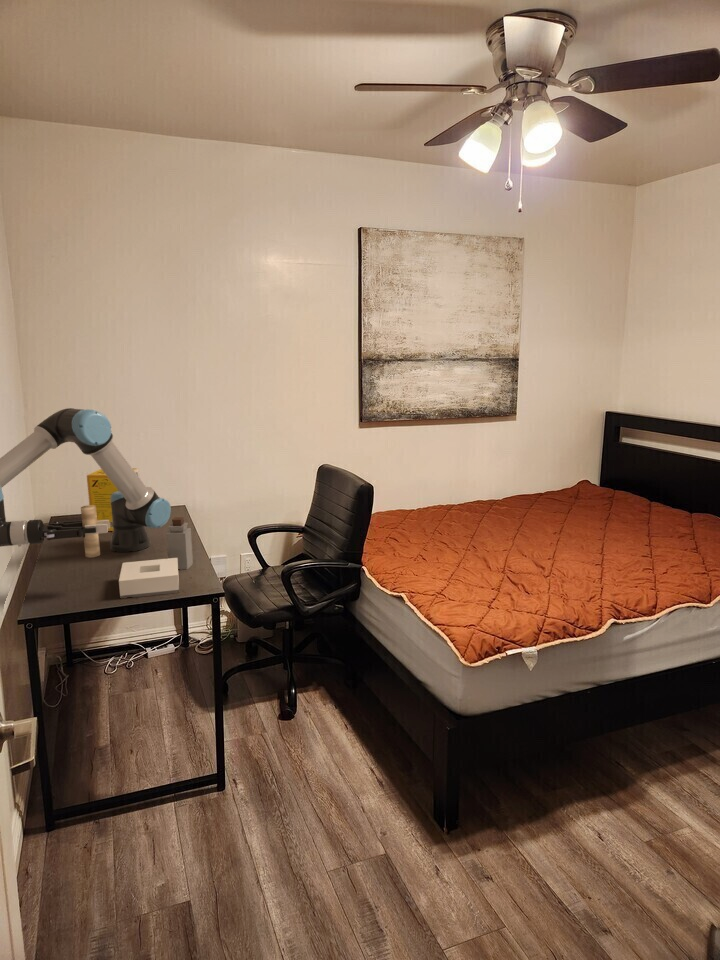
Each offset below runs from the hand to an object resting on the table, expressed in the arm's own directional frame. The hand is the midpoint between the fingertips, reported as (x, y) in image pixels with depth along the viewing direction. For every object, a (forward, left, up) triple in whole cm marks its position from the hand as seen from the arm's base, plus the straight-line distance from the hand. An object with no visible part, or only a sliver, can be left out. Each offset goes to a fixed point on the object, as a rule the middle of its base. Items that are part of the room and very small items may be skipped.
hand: (108, 526), depth 205 cm
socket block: (-1, +12, -22) cm, 25 cm away
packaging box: (-80, -4, -22) cm, 83 cm away
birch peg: (0, -5, -9) cm, 11 cm away
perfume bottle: (-18, +22, -22) cm, 36 cm away
